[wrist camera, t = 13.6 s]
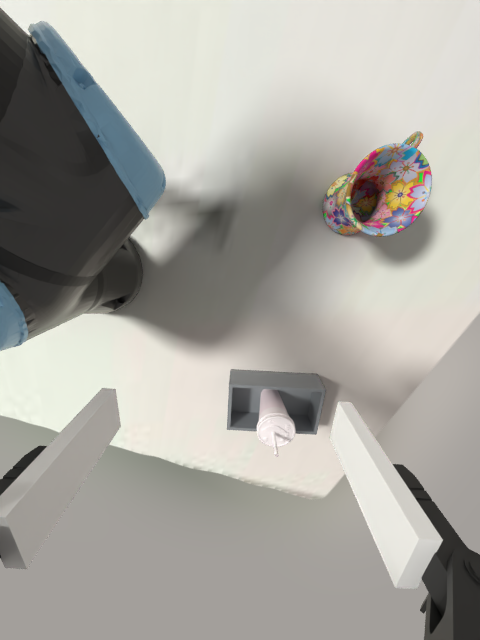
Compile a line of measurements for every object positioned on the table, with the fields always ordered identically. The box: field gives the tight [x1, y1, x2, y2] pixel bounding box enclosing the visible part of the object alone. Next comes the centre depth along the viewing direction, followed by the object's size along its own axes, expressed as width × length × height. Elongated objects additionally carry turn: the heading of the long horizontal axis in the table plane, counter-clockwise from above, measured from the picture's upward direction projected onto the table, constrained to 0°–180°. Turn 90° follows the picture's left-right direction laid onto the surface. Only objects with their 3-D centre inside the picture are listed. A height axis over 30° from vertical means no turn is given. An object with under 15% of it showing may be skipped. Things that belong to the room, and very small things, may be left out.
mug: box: [323, 131, 432, 237], centre depth 30 cm, size 12×9×11 cm
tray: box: [227, 369, 326, 434], centre depth 45 cm, size 17×10×5 cm, turn 87°
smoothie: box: [256, 389, 296, 457], centre depth 40 cm, size 6×6×14 cm
